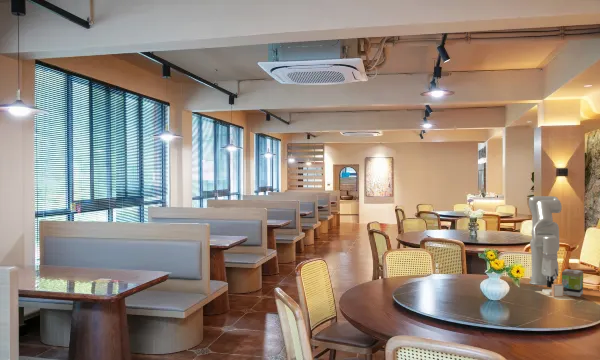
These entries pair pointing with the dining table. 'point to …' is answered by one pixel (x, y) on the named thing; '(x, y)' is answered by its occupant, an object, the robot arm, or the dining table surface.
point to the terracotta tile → (557, 290)
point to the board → (556, 297)
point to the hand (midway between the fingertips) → (550, 287)
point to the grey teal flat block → (547, 291)
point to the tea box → (572, 282)
